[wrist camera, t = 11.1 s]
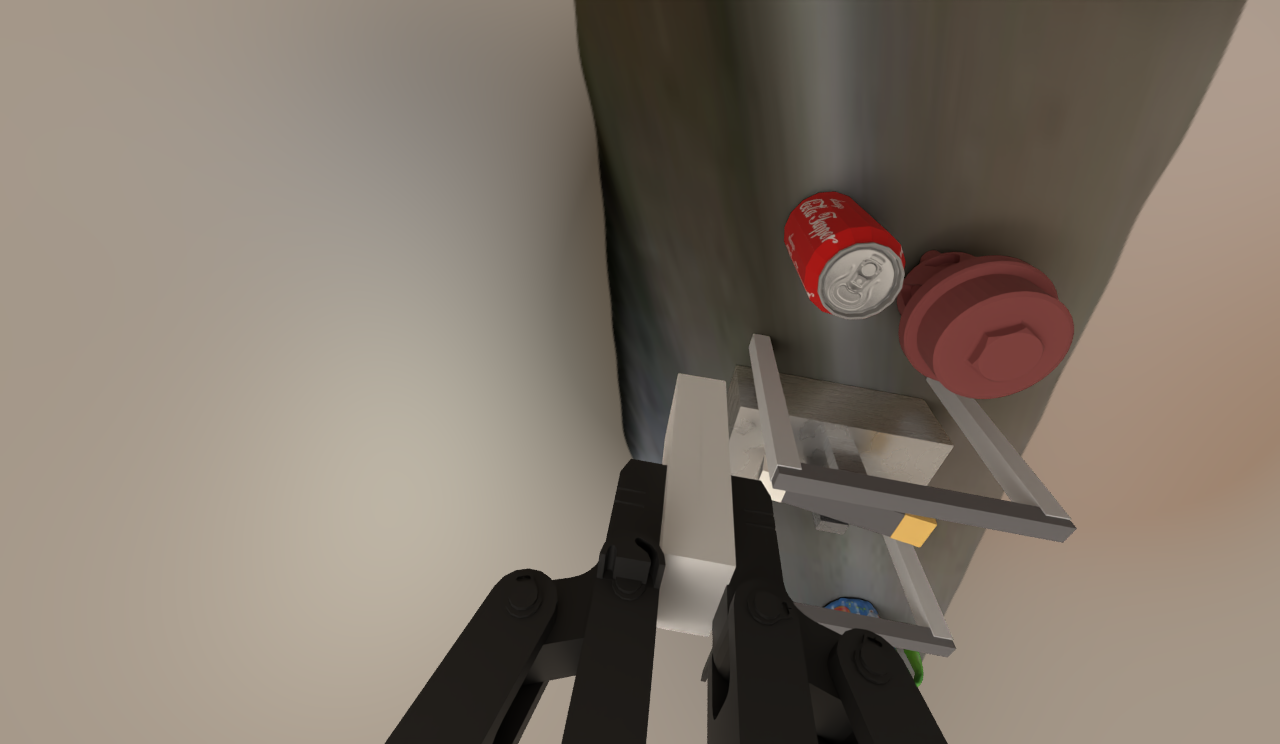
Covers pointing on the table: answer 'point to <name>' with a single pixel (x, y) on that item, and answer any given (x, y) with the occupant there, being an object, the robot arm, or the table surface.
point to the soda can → (844, 256)
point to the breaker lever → (856, 513)
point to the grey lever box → (839, 432)
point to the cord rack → (908, 502)
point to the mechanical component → (982, 323)
